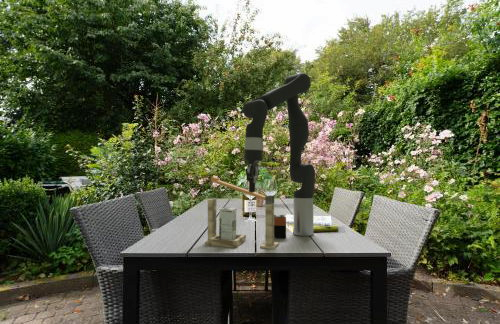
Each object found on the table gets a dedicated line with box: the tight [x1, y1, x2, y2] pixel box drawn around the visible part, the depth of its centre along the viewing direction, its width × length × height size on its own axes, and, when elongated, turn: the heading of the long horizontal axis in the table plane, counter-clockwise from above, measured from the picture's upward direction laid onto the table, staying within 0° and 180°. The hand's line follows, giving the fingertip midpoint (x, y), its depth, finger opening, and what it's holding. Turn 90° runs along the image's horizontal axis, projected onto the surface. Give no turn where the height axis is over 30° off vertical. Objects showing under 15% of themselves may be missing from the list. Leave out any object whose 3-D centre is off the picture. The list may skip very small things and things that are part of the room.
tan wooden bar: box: [210, 176, 266, 201], centre depth 130 cm, size 4×26×2 cm, turn 73°
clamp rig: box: [204, 195, 280, 250], centre depth 129 cm, size 12×30×20 cm, turn 73°
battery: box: [274, 214, 287, 239], centre depth 142 cm, size 4×7×10 cm, turn 82°
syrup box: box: [218, 207, 237, 240], centre depth 131 cm, size 6×6×14 cm
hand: (251, 191), depth 128 cm, fingers closed
